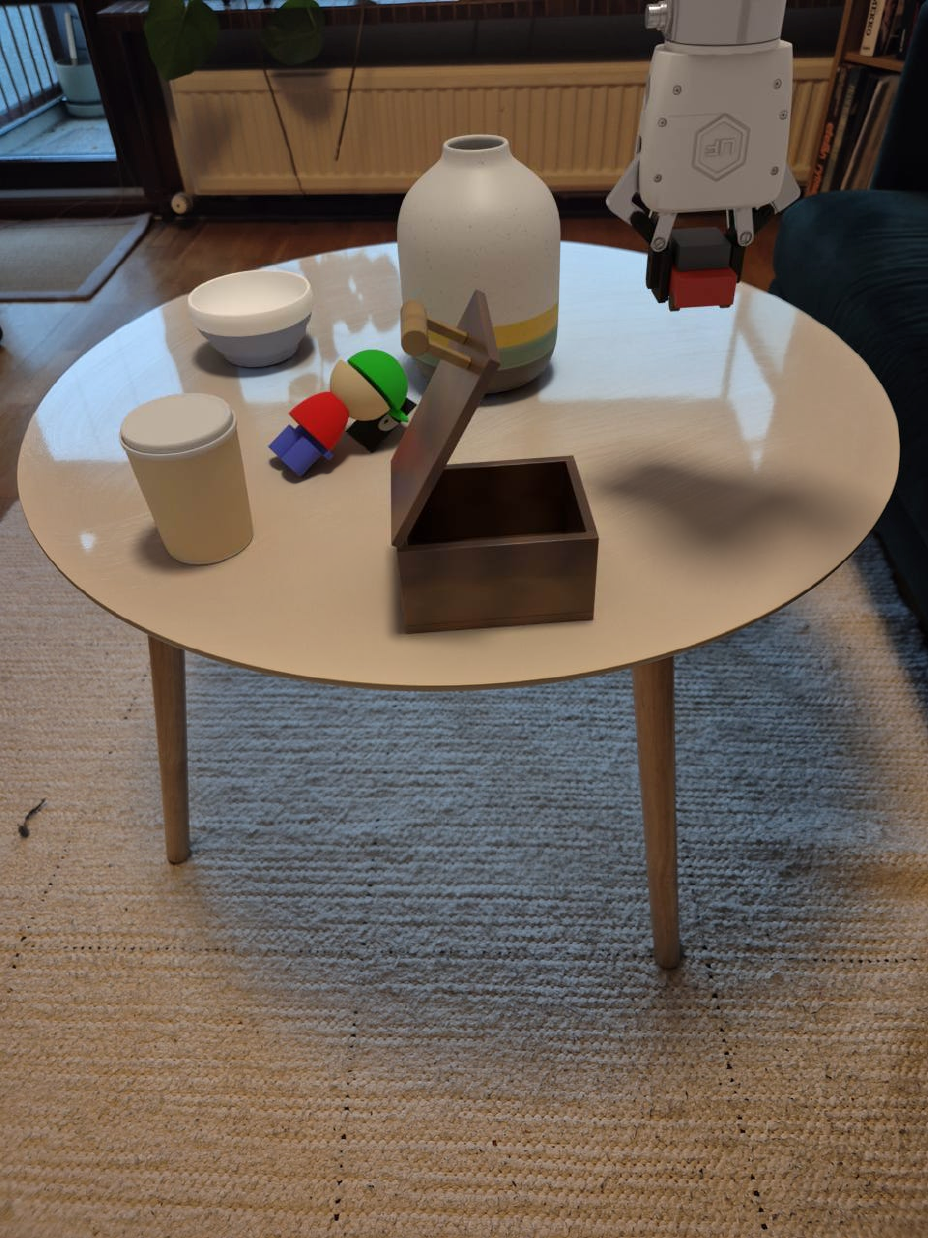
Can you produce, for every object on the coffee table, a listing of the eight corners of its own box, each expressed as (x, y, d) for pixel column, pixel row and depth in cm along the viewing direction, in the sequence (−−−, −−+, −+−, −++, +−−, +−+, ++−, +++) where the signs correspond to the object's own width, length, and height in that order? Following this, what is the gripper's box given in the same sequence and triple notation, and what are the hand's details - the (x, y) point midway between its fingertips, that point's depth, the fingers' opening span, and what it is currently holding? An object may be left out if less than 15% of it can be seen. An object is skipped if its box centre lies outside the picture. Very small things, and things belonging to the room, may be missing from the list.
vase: (516, 332, 110) (516, 113, 94) (583, 387, 98) (595, 148, 82) (388, 360, 106) (365, 136, 90) (442, 422, 94) (426, 175, 78)
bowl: (218, 330, 115) (204, 270, 110) (329, 327, 114) (320, 266, 109) (187, 381, 104) (170, 318, 99) (310, 378, 103) (299, 314, 98)
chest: (570, 532, 78) (573, 454, 73) (593, 619, 69) (599, 537, 64) (403, 545, 77) (395, 467, 72) (406, 633, 69) (396, 552, 63)
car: (733, 314, 68) (743, 250, 65) (673, 318, 68) (680, 254, 65) (706, 276, 74) (714, 217, 71) (651, 280, 74) (656, 220, 71)
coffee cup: (218, 498, 84) (187, 380, 76) (284, 532, 80) (258, 410, 72) (135, 545, 79) (92, 424, 71) (200, 584, 74) (162, 459, 66)
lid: (485, 292, 63) (413, 259, 62) (501, 363, 55) (418, 326, 53) (399, 464, 72) (334, 439, 70) (401, 549, 63) (326, 523, 61)
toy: (334, 509, 88) (437, 400, 88) (285, 463, 82) (396, 346, 82) (296, 473, 94) (393, 370, 94) (248, 427, 88) (352, 318, 88)
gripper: (606, 37, 56) (592, 320, 68) (873, 20, 56) (812, 305, 68) (588, 20, 62) (578, 284, 73) (830, 5, 62) (781, 271, 74)
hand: (691, 292), depth 71 cm, fingers closed on car, 4 cm apart
